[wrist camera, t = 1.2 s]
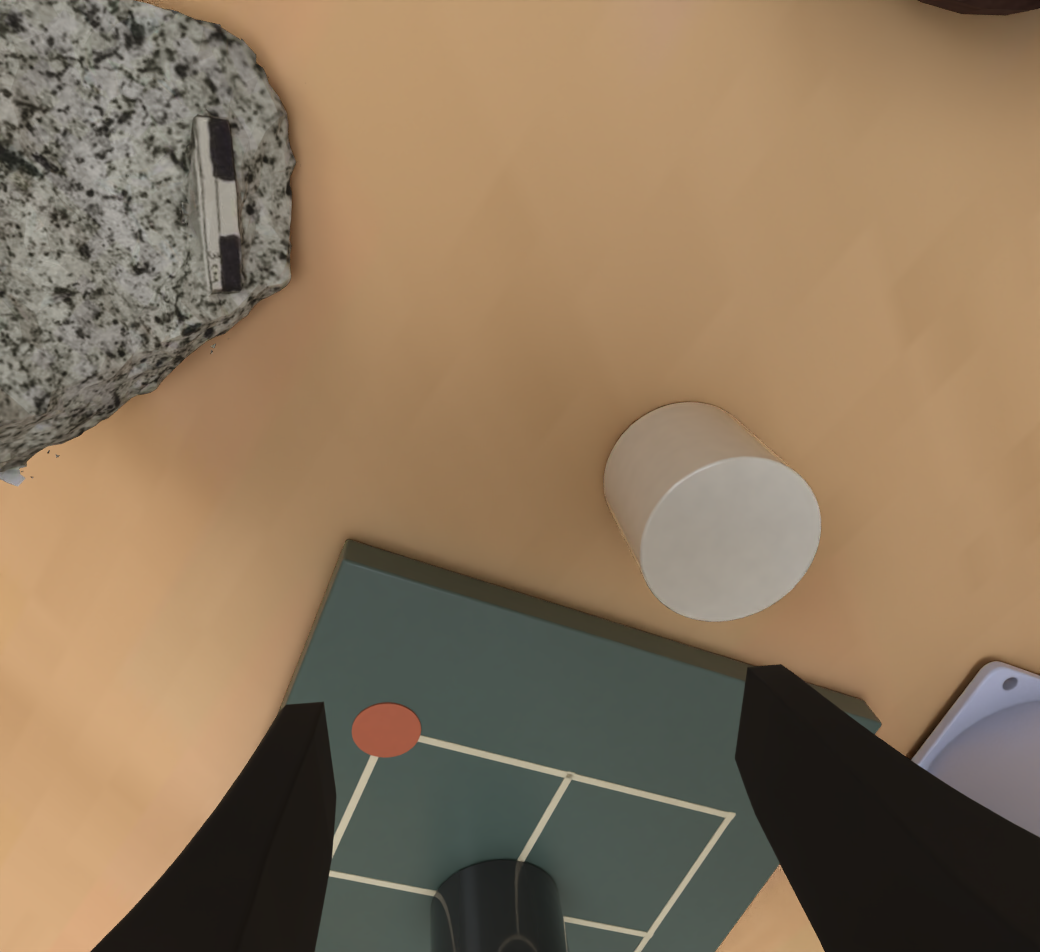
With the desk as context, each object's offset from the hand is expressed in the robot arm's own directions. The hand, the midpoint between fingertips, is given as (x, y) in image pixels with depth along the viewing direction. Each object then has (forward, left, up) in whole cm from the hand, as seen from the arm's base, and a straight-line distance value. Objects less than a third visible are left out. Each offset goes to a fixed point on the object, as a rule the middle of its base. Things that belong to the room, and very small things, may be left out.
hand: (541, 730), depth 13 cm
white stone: (-5, -3, -9) cm, 10 cm away
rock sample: (+11, -5, -9) cm, 15 cm away
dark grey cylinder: (-6, +13, -8) cm, 17 cm away
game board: (-6, +13, -9) cm, 17 cm away
